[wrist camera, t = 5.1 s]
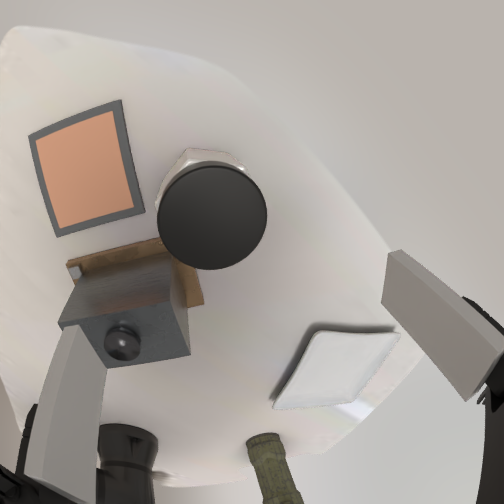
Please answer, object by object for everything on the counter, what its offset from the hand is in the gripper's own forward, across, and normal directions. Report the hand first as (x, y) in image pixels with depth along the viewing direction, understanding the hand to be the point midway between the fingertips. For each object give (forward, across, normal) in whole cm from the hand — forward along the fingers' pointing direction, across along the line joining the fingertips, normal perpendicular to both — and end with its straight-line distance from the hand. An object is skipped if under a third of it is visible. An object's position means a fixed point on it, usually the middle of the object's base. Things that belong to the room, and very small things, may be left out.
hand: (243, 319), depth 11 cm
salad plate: (+23, -17, +38) cm, 48 cm away
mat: (+23, +13, -5) cm, 27 cm away
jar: (+23, 0, 0) cm, 23 cm away
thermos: (+23, 0, +63) cm, 67 cm away
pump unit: (+23, +11, +10) cm, 27 cm away
